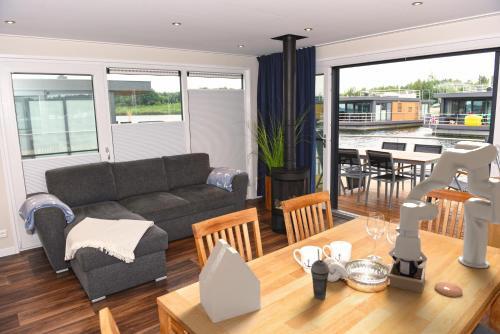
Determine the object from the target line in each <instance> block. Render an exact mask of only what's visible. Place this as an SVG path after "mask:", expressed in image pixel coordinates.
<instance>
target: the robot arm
mask: <svg viewBox="0 0 500 334" xmlns="http://www.w3.org/2000/svg"><path fill="white" fill-rule="evenodd" d="M497 156H498V149H497V147H496V146H495V145H494V144H492V143H487V142H476V141H464V140H463V141H459V142H457V143H455V145H454V148H448V149H445V150H444V151H442V153H441V155H440V156H439V159H438V160H437V162H436V164H435V166H434V168H433V169H432V172H431V173H430V175H429V176H428V177H426V178H425V179H423V180H422V181H420V182H418V183H417V184H416V185H414V186H413V188H412V189H411V190H410V191H409V193H408V195H407V197H406V198H405V200H404V203H401V205H400V207H399V208H400V209H399V226H398V227H396V228H395V232H398V233H397V234H396V236H395V243H394V247H393V248H392V249H391V250H389V252H388V255H389V256H390V257H391V258H392V260H393V259H394V260H395V261H396V269H398V271H397V272H399V271H400V258H401V259H407V260H412V261H414V270H413V275H415V274H416V273H417V271H418V266H419V265H420V264H422V263H423V262H425V261H426V262H427V261H428V257H427V256H426V255H425V254H424V253H423V251H422V241H421V240H422V239H421V237H420V235H419V234H420V233H419V231H420V230H419V229H420V221H427V222H428V221H434V220H435V219H436V218H437V217H438V216H439V214H440V213H439V212H440V209H439V207H438V206H437V205H436V204H434V203H432V202H428V201H425V200H423V199H422V198H423V197H424V196H425V195H427V194H428V193H430V192H433V191H437V190H442V189H446V188H448V187H449V186H450V185H451V183H452V182H453V180H454V177H456V174H457V172H458V171H466V173H467V175H466V177H467V178H466V179H467V181H466V185H467V186H466V187H467V192H468V194H469V195H471V196H473V197H470V198H468V199H466V200H465V202H464V203H463V215H464V231H463V243H462V245H463V246H462V254H461V255H460V256H458V262H459V263H460V264H462V265H463V266H466V267H470V268H474V269H486V268H488V267H490V261H488V260H487V252H488V251H487V250H488V242H489V241H488V240H489V225H488V223H490V224H494V225H500V179H497V178H492V177H491V176H490V166H489V165H490V164H491V163H493V162H494V161H495V160H496V158H497ZM420 259H421V260H420Z"/></svg>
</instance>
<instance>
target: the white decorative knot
mask: <svg viewBox="0 0 500 334" xmlns="http://www.w3.org/2000/svg"><path fill="white" fill-rule="evenodd" d="M323 261H324V262H326V264H327V265H328V267H329V274H328V280H327V282H328V281H329V282H336V281H338V280H339V279H341V280H343V279H344V278H346V277H348V276H349V277H350V274H349V272H348V270H347V269H346V264H347V259H346V258H344V257H340V258H339V259H338V260H337V259H335V258H334V257H326V258H325V259H324V260H323Z"/></svg>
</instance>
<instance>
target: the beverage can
mask: <svg viewBox="0 0 500 334" xmlns="http://www.w3.org/2000/svg"><path fill="white" fill-rule="evenodd" d="M413 270H414V261H412V260H407V259H401V258H400V271H399V274H398V276H403V277H408V278H413V279H415V277H414V275H413Z"/></svg>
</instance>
